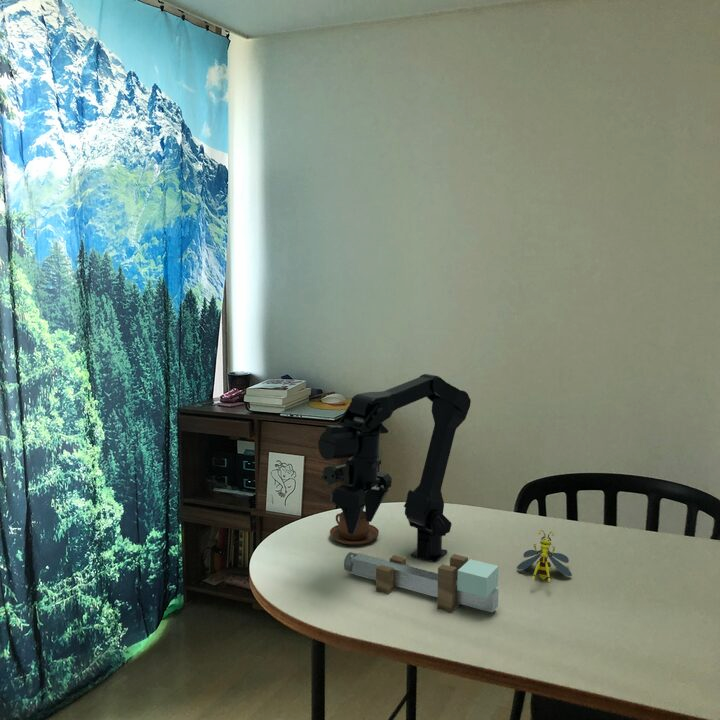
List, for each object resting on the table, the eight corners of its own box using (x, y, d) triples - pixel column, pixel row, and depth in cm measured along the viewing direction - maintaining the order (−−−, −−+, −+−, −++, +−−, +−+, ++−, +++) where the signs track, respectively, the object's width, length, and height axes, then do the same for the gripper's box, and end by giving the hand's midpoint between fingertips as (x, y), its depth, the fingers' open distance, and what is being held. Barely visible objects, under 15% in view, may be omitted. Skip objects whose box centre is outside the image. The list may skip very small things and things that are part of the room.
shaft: (353, 566, 156) (353, 549, 155) (498, 606, 138) (499, 587, 138) (343, 573, 153) (343, 556, 152) (491, 615, 135) (491, 595, 134)
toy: (512, 557, 145) (520, 524, 159) (511, 594, 147) (519, 558, 161) (571, 565, 142) (574, 531, 156) (569, 602, 144) (573, 565, 158)
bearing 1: (393, 576, 153) (394, 554, 152) (406, 580, 151) (406, 558, 151) (376, 591, 146) (376, 568, 146) (388, 594, 145) (388, 571, 144)
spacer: (469, 578, 142) (469, 559, 142) (497, 585, 139) (498, 566, 138) (457, 590, 137) (457, 570, 137) (486, 597, 134) (486, 577, 133)
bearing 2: (453, 593, 146) (454, 553, 144) (466, 596, 144) (467, 557, 143) (437, 608, 139) (437, 567, 138) (451, 612, 138) (452, 571, 136)
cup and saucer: (321, 544, 170) (321, 520, 169) (341, 526, 181) (341, 503, 180) (368, 552, 166) (367, 527, 165) (385, 533, 177) (385, 510, 176)
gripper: (348, 441, 159) (344, 509, 161) (309, 457, 142) (305, 532, 144) (394, 449, 155) (389, 518, 157) (360, 466, 138) (355, 543, 140)
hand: (360, 527), depth 149 cm, fingers open, 9 cm apart
